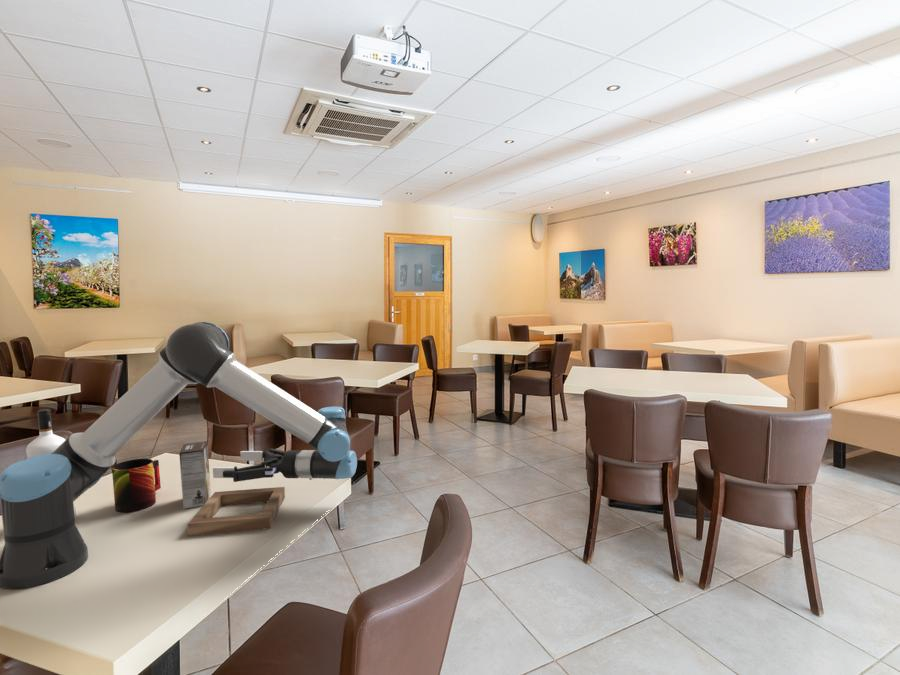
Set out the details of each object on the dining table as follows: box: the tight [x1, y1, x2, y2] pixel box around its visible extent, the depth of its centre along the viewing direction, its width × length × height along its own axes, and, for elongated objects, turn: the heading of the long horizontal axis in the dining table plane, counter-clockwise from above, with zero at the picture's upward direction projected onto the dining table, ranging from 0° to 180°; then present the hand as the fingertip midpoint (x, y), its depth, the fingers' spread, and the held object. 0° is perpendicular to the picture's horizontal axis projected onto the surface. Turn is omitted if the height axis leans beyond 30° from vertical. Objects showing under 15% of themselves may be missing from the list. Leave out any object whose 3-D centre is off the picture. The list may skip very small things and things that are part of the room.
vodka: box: [25, 408, 77, 516], centre depth 127 cm, size 9×9×30 cm
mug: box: [111, 458, 162, 514], centre depth 139 cm, size 10×14×12 cm
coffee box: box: [178, 440, 212, 510], centre depth 139 cm, size 9×6×16 cm
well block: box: [187, 486, 286, 536], centre depth 130 cm, size 20×19×3 cm
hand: (228, 463), depth 138 cm, fingers open, 13 cm apart
